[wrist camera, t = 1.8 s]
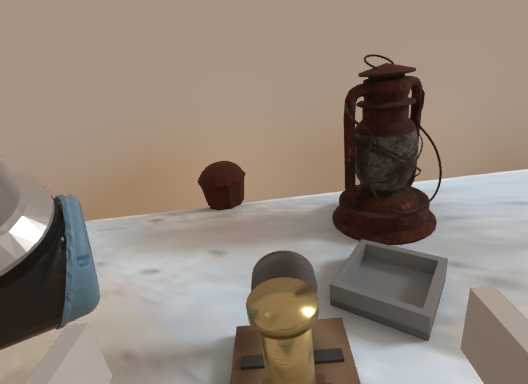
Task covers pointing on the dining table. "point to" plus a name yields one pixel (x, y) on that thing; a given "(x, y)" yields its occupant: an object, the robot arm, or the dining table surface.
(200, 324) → the dining table surface
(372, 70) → the lantern
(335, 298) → the tray
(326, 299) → the dining table surface
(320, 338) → the board
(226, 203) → the muffin
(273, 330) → the lock pin
